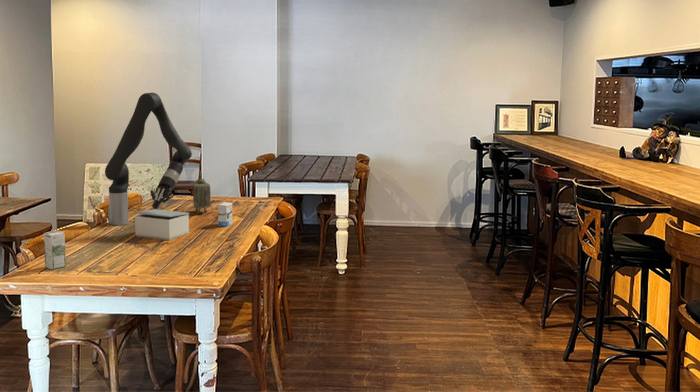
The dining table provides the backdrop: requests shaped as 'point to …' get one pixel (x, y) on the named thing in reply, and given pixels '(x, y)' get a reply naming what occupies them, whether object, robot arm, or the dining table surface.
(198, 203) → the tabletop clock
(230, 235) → the dining table surface
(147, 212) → the lid
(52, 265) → the syrup box
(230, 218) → the ink box
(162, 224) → the storage box
